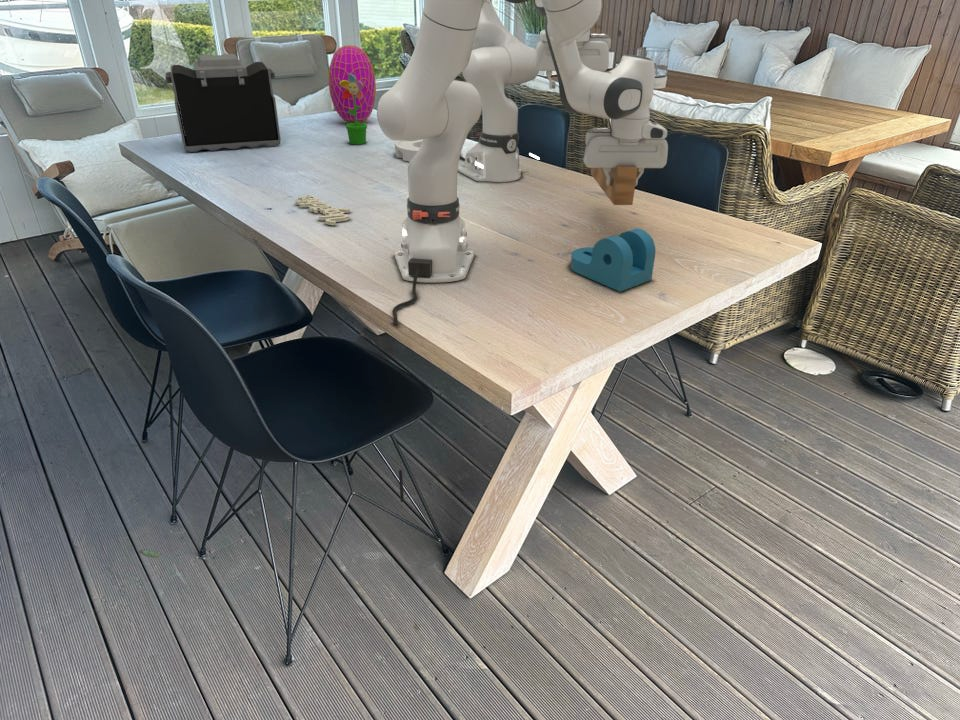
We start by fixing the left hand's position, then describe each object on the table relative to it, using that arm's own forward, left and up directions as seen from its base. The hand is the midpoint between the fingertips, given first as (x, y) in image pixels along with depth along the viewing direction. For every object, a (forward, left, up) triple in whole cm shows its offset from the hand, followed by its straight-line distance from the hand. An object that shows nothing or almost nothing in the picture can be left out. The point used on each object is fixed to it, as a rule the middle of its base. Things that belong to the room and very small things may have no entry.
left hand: (621, 185), depth 171 cm
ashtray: (+83, +50, -13) cm, 98 cm away
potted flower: (+102, +77, -13) cm, 128 cm away
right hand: (+32, +9, +18) cm, 38 cm away
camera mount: (-25, +8, -13) cm, 29 cm away
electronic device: (+101, +124, -13) cm, 161 cm away
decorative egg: (+138, +82, -13) cm, 161 cm away
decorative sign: (+21, +78, -13) cm, 82 cm away
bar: (+10, 0, -4) cm, 11 cm away
